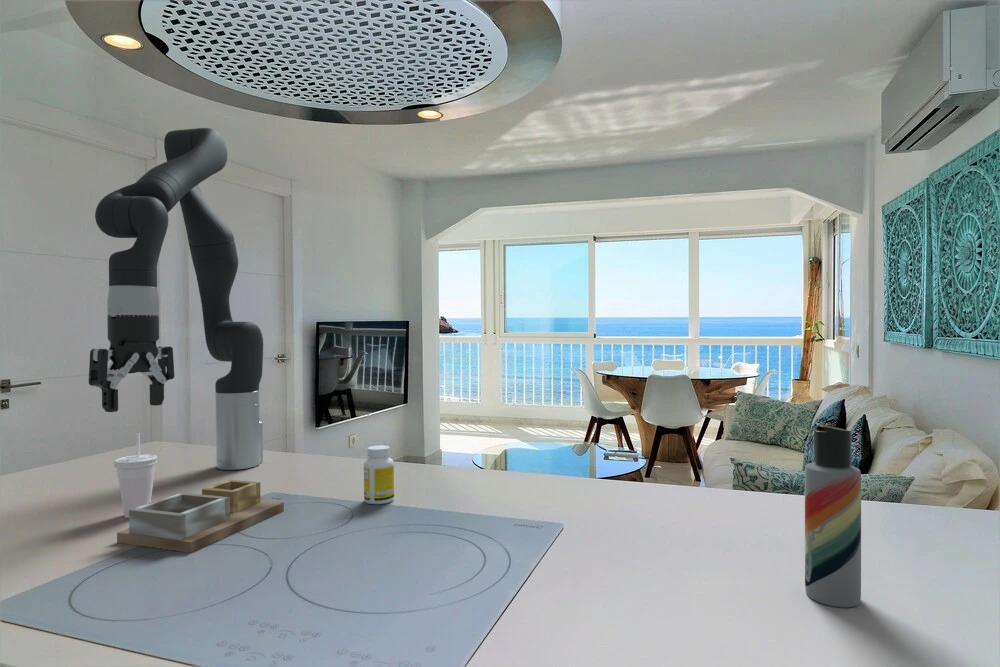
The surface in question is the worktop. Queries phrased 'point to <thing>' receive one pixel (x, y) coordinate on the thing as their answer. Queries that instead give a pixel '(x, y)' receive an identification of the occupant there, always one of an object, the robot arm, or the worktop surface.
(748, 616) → the worktop surface
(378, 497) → the supplement bottle
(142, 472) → the smoothie
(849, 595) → the lotion bottle
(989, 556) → the worktop surface
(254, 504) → the fitting board
